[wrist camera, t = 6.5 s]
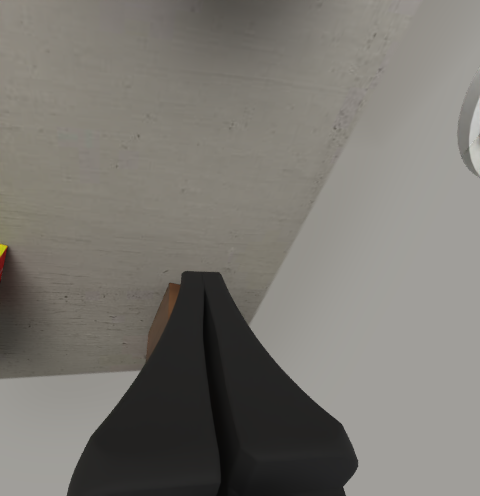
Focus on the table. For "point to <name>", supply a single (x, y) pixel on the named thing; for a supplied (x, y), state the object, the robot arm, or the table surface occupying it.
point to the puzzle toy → (2, 257)
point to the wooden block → (162, 317)
